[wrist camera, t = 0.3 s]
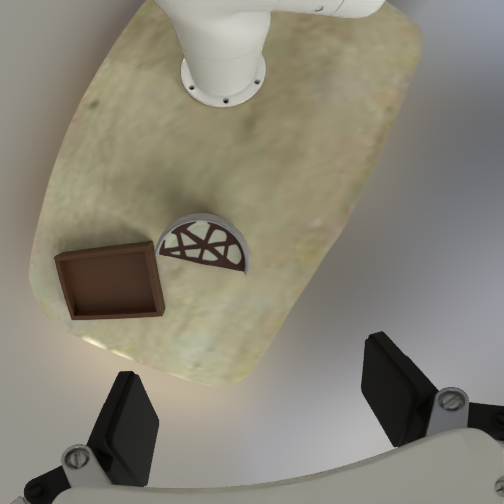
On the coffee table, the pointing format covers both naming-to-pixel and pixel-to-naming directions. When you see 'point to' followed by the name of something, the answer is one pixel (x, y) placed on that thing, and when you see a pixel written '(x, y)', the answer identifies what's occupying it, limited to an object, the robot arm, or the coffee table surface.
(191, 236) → the lattice half-cylinder
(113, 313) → the tray
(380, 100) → the coffee table surface
